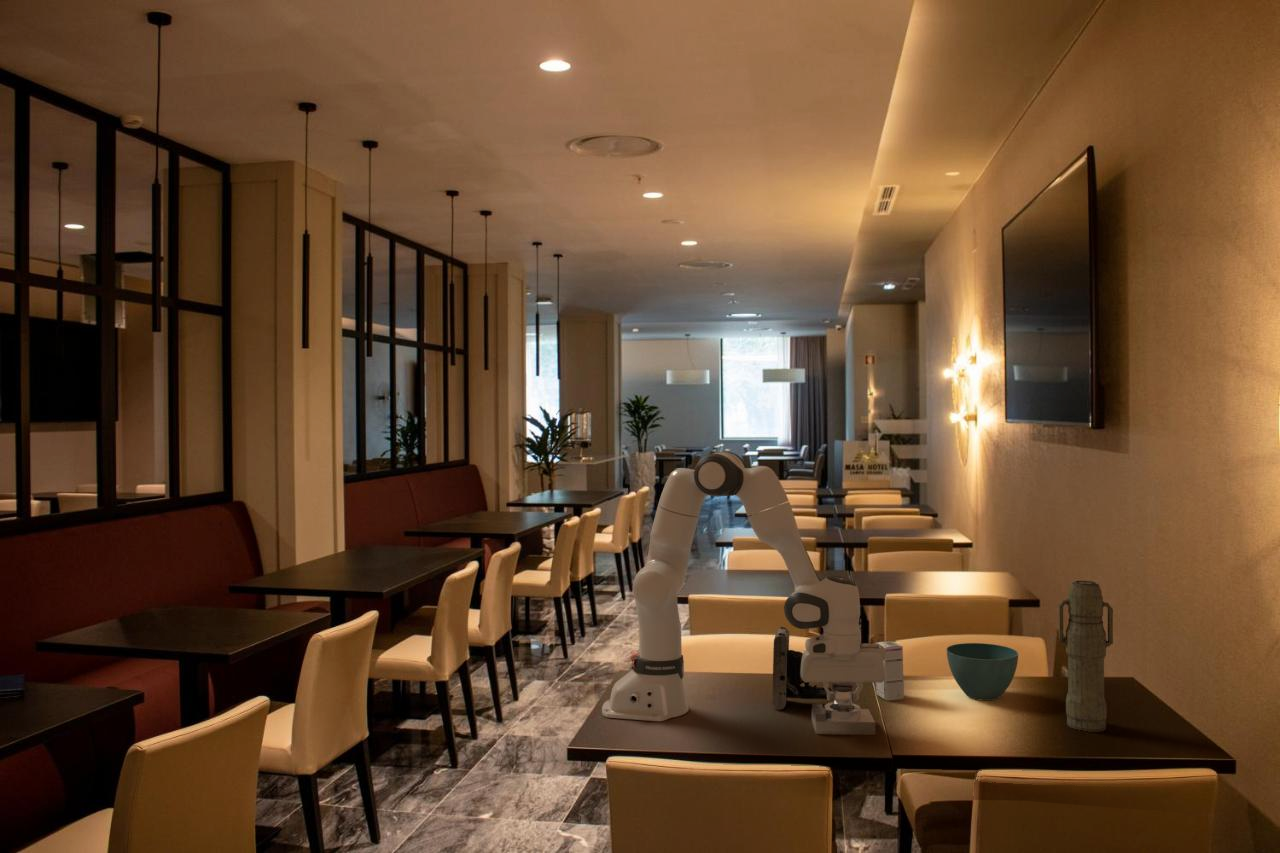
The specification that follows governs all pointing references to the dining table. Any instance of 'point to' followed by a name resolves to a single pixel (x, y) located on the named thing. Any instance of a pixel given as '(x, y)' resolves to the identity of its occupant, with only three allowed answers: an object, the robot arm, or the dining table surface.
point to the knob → (842, 696)
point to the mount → (842, 720)
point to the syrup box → (892, 672)
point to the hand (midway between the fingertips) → (842, 699)
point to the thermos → (1086, 655)
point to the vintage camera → (790, 674)
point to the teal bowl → (982, 668)
